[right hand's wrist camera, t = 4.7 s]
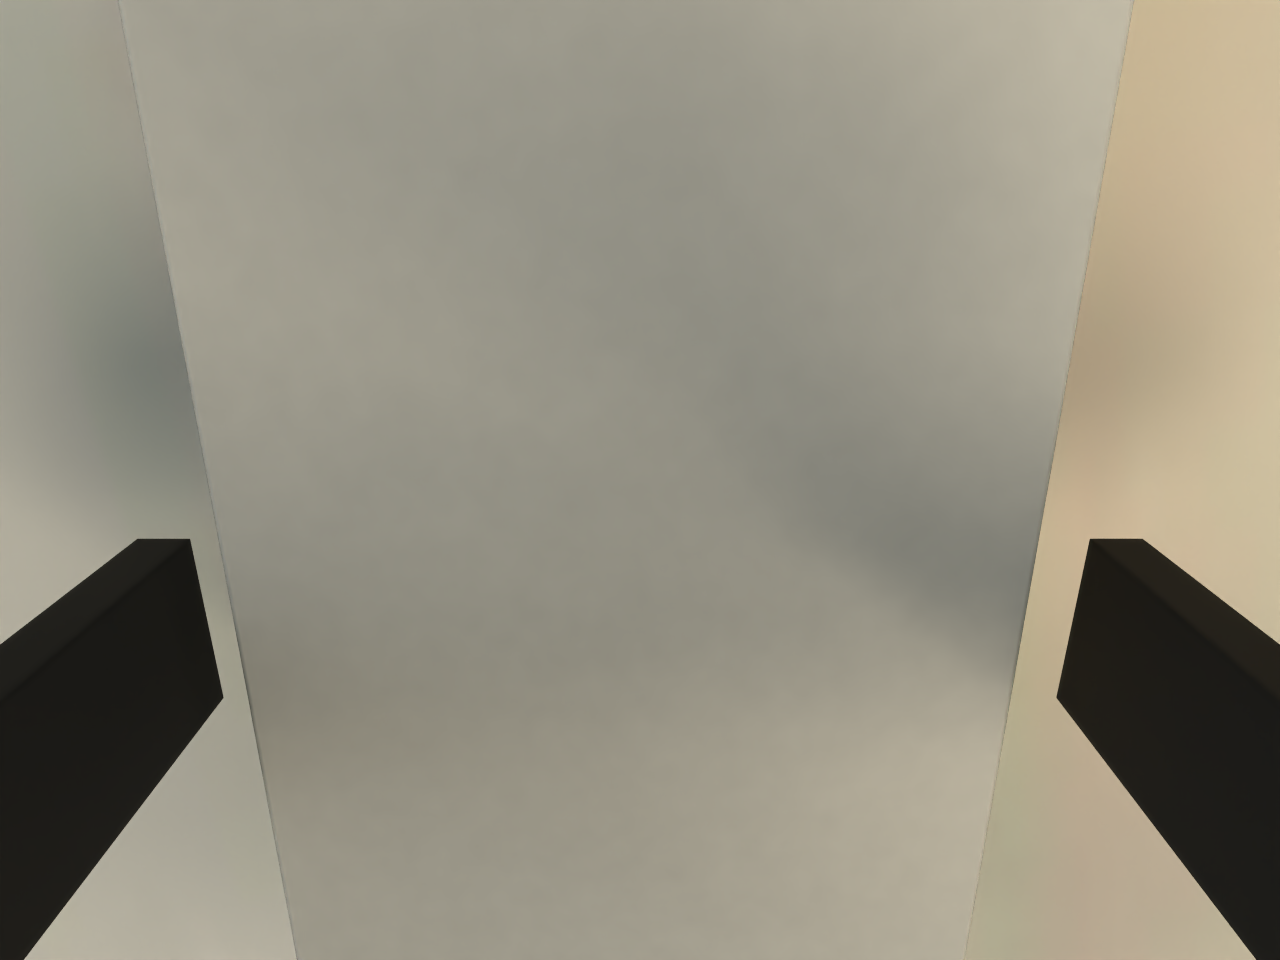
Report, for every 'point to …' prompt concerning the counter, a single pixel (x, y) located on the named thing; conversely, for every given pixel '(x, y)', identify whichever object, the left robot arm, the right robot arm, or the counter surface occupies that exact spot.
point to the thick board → (628, 446)
